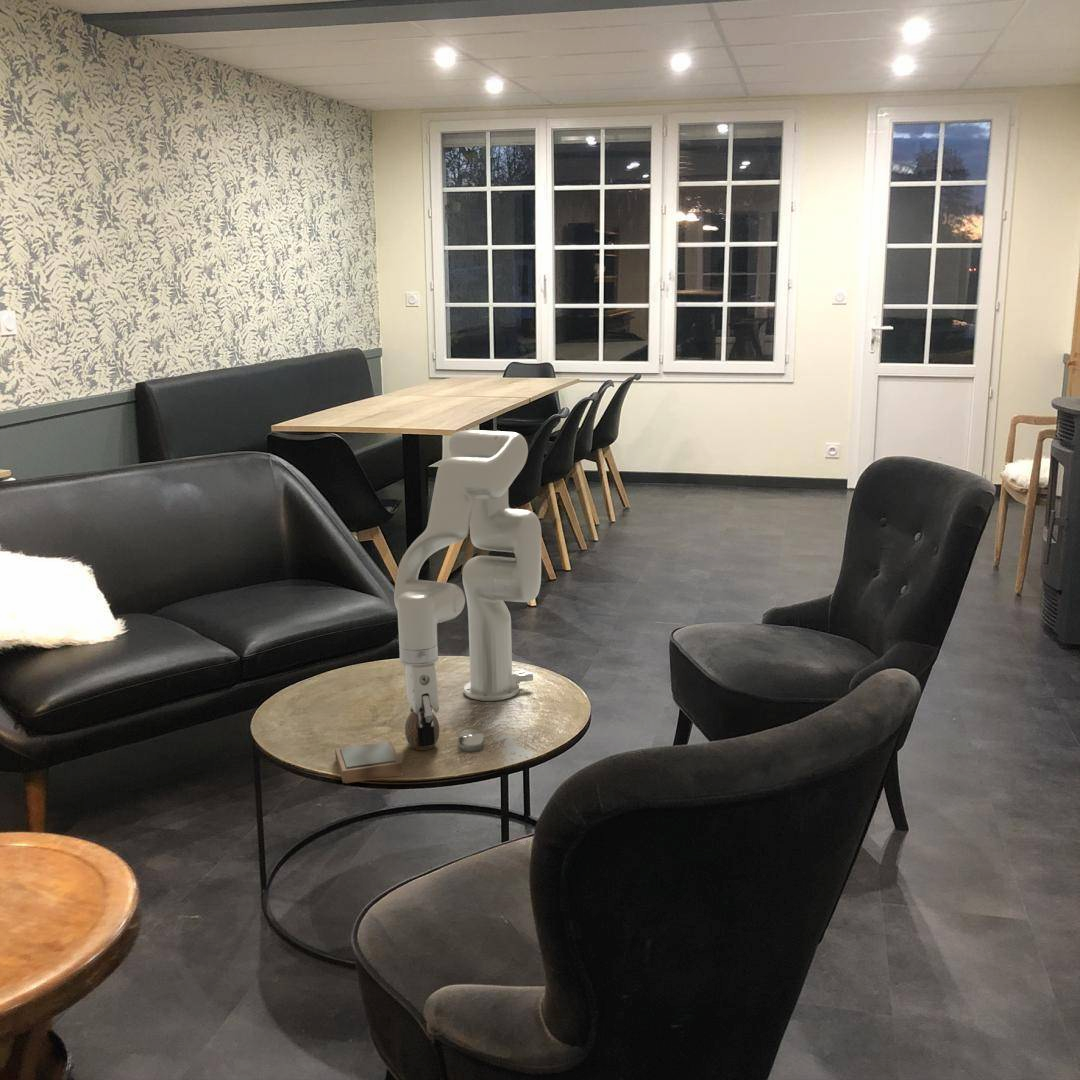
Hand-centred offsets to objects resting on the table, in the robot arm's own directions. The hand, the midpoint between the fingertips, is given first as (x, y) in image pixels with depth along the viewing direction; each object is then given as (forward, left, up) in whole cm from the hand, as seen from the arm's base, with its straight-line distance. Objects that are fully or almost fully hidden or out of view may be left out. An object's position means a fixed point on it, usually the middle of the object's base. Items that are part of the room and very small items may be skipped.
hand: (422, 737), depth 223 cm
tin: (-9, +4, -2) cm, 10 cm away
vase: (0, 0, -2) cm, 2 cm away
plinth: (+12, +7, -2) cm, 14 cm away
